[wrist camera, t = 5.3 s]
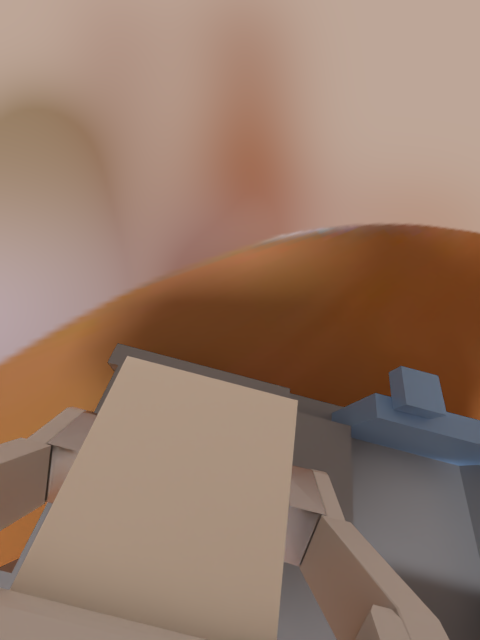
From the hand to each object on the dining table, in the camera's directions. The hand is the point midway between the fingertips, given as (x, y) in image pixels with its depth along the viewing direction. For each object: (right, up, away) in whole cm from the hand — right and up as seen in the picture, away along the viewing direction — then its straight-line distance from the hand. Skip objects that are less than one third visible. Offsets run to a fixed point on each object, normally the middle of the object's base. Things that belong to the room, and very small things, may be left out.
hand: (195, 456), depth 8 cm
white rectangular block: (-1, -3, +3) cm, 4 cm away
